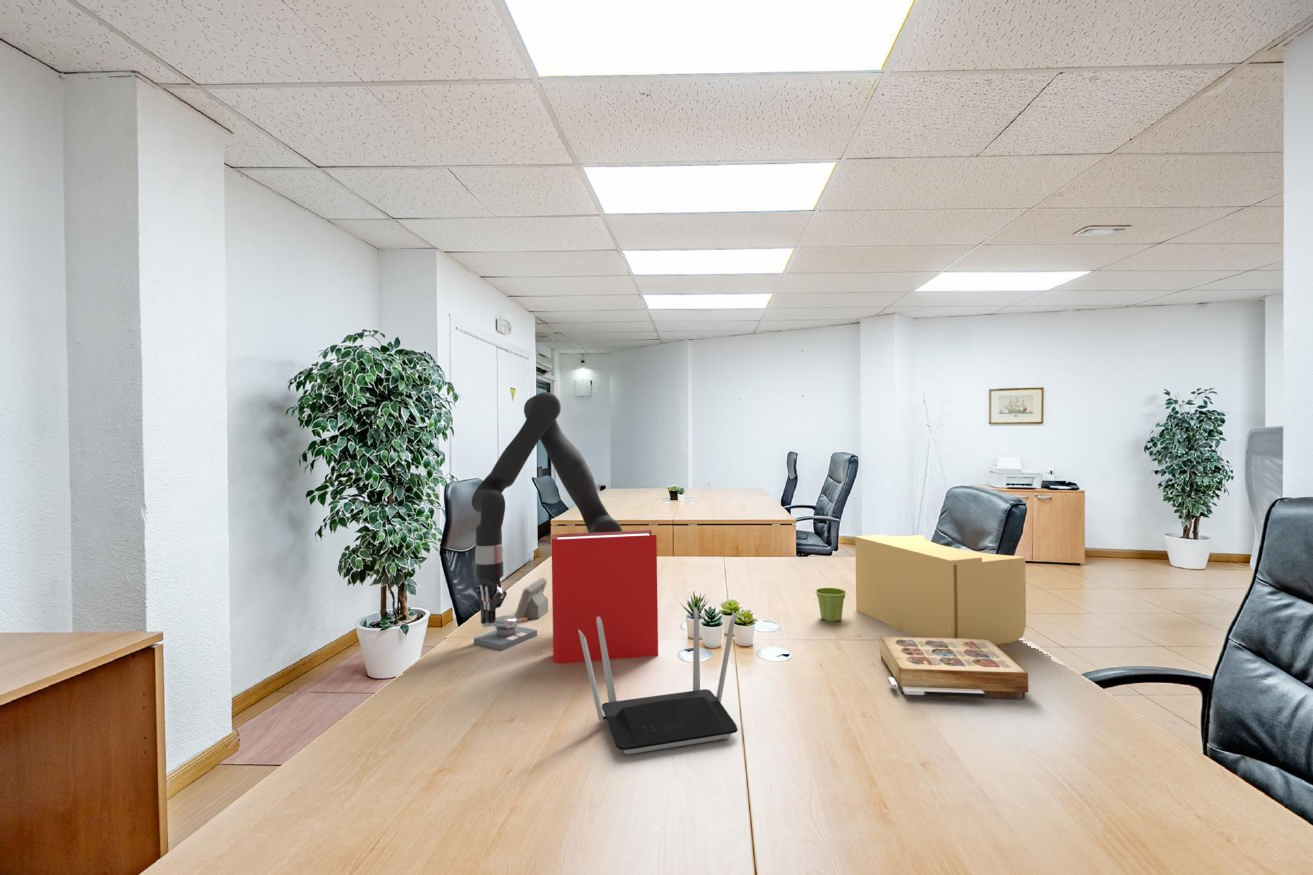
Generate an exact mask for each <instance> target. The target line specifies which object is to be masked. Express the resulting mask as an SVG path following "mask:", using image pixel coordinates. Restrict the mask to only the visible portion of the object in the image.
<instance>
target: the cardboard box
mask: <svg viewBox="0 0 1313 875" xmlns="http://www.w3.org/2000/svg"><path fill="white" fill-rule="evenodd" d="M854 537H855V545H854V546H855V547H854V548H855V605H856V606H855V610H856V611H857V612H858V613H859V612H860V613H861V614H864V615H866V616H869V617H871V618H873V619H876V620H877V621H880V622H882V623H884V624H886V625H889V626H891V627H893V628H895V629H898V630H900V631H902V632H905V633H907V634H909V635H912V636H913V637H928V638H970V639H989V640H990V641H991V642H992V643H993V644H995V645H996V646H997V645H1003V644H1010V643H1015V642H1017V641H1018V640H1020V639H1021V638H1023V637H1024V633H1025V631H1026V628H1027V603H1026V602H1027V601H1026V600H1027V597H1026V596H1027V595H1026V592H1027V589H1026V587H1027V586H1026V556H1020V555H1009V554H1008V555H1006V554H996V553H987V552H981V551H976V550H975V551H972V550H967V549H961V548H956V547H951V546H947V545H943V544H939V543H936V542H933V541H930V540H927V539H926V538H925V536H924V535H921V534H916V535H914V534H913V535H903V536H892V535H886V534H873V535H872V534H870V535H858V536H854Z"/></svg>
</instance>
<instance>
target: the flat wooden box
mask: <svg viewBox="0 0 1313 875" xmlns="http://www.w3.org/2000/svg"><path fill="white" fill-rule="evenodd" d="M879 654H880V659H881V662H882V664H883V666H884V667H885V668H887V669H889V670H890V671H891V673H892V675H893V676H894V677H893V676H892V677H891V676H890V677H889V676H888V677H887V681H888V684H889V685H890V687H891V688H892V689H898V691H899V692H900V694H901V695H910V696H913V695H914V696H927V697H928V696H929V697H944V698H960V697H970V698H971V697H972V698H990V699H994V700H997V699H1000V700H1001V699H1004V700H1005V699H1006V700H1009V699H1015V700H1018V699H1024V698H1025V697H1026V693H1029V672H1028V671H1026V670H1025V668H1023V667H1022V666H1020V664H1018V663H1017V662H1016V661H1014V659H1012V657H1010V656H1009V655H1008V654H1007V653H1005V652H1004V651H1003V650H1002V649H1000V648H999V646H997V645H995V644H993V643H992V642H991V641H990V640H989V639H970V638H928V637H916V636H882V635H881V636H879Z"/></svg>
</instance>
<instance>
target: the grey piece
mask: <svg viewBox="0 0 1313 875" xmlns="http://www.w3.org/2000/svg"><path fill="white" fill-rule="evenodd" d="M528 620H529V619H527V617H526V618H521V619H516V617H515V615H501V616H496V621H495V622H494V623H491V624H489V623H486V613H485V609H484V606H481V605H480V624H482V628H489V627H494V628H496V629H497V628H498V629H508V628H513V627H515V626H518V625H517V624H518V623H524V624H525V623H528Z"/></svg>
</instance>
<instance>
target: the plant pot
mask: <svg viewBox="0 0 1313 875" xmlns="http://www.w3.org/2000/svg"><path fill="white" fill-rule="evenodd" d="M815 593H816V596H817V600H818V605H819V613H820V617H821V620H824V621H826V622H837V621H838V622H839V621H841V620H842V618H843V611H844V610H843V609H844V601H845V597H846V595H847V590H844V589H842V588H836V587H819V588H816V589H815Z"/></svg>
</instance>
